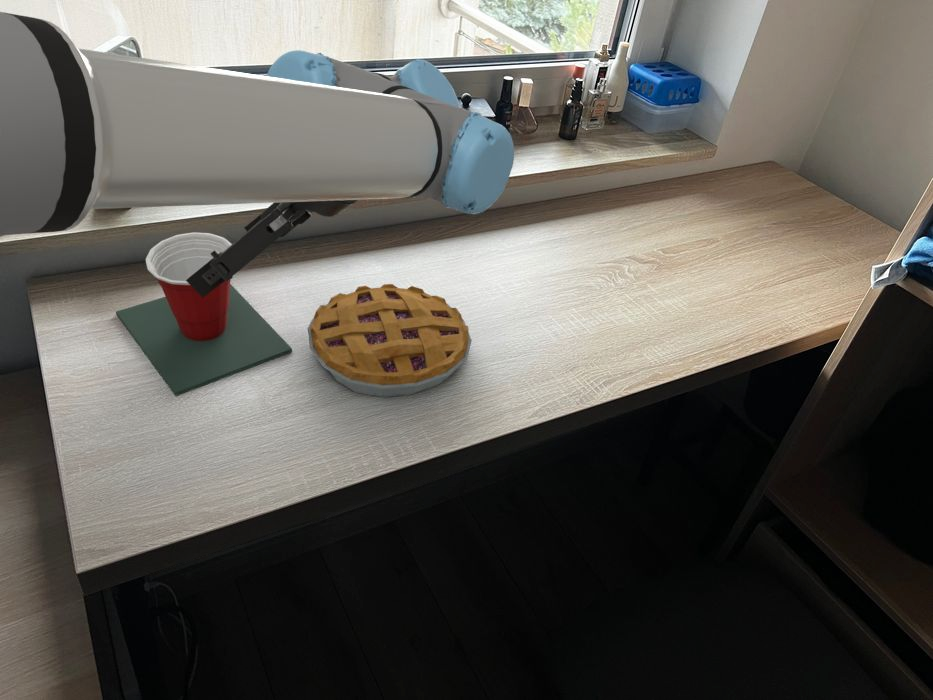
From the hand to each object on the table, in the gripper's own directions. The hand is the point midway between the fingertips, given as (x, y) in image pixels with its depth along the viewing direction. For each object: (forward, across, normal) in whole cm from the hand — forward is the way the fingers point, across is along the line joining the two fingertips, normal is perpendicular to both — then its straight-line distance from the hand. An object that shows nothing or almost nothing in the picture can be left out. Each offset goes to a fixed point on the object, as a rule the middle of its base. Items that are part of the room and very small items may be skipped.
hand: (225, 259), depth 90 cm
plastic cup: (+12, 0, -6) cm, 14 cm away
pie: (-5, +6, -23) cm, 25 cm away
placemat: (+13, 0, -6) cm, 14 cm away
